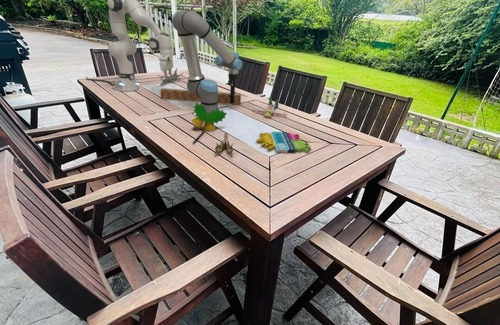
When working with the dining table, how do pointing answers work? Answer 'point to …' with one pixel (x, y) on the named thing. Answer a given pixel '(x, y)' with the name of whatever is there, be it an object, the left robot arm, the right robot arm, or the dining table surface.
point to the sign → (283, 142)
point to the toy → (270, 109)
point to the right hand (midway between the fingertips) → (232, 102)
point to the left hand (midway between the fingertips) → (168, 75)
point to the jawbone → (224, 145)
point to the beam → (187, 96)
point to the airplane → (171, 78)
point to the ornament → (207, 117)
